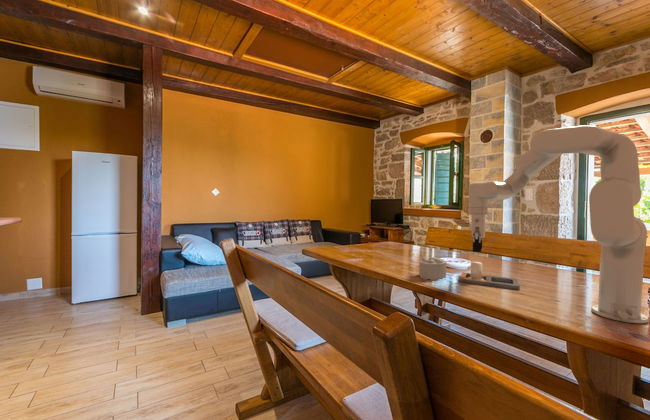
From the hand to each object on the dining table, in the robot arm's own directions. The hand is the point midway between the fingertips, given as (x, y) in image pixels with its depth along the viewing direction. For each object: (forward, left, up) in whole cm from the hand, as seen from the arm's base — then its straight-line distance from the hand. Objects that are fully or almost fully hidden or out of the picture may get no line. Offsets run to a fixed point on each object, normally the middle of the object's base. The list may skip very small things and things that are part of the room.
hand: (477, 250), depth 132 cm
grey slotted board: (0, -5, -14) cm, 14 cm away
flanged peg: (0, 0, -14) cm, 14 cm away
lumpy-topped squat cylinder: (-4, +19, -14) cm, 23 cm away
